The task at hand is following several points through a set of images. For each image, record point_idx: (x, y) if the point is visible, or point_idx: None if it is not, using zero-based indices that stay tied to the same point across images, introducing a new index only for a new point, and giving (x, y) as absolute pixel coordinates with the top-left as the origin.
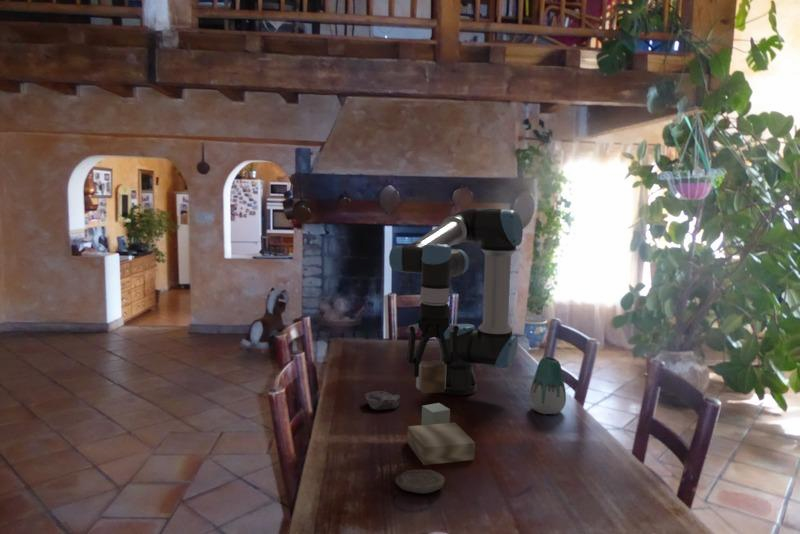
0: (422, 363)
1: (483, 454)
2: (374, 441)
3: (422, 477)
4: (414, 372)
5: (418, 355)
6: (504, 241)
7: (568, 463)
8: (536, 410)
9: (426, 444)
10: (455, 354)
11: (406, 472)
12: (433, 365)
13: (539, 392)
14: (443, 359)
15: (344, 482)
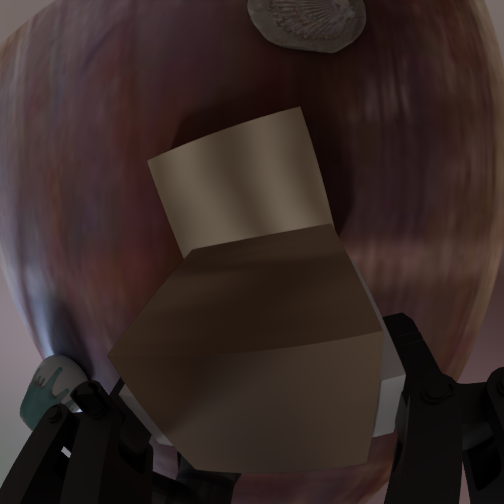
0: (353, 429)
1: (145, 189)
2: (410, 247)
3: (302, 18)
4: (419, 333)
5: (456, 475)
6: None
7: (28, 178)
8: (79, 368)
9: (292, 129)
10: (33, 445)
11: (343, 37)
12: (238, 392)
13: (58, 384)
14: (152, 460)
15: (456, 54)
